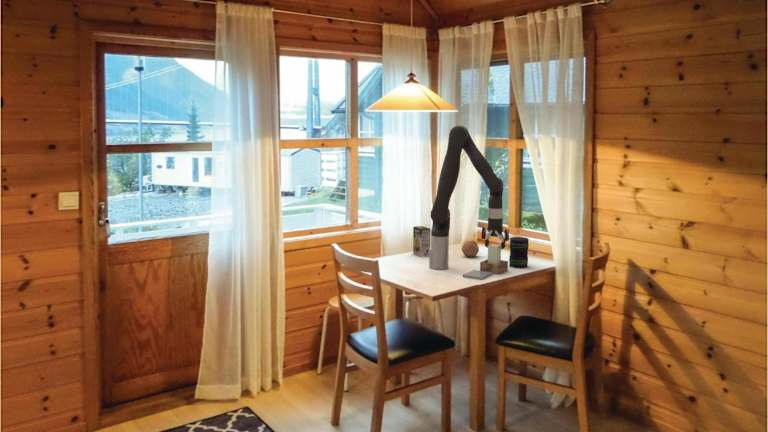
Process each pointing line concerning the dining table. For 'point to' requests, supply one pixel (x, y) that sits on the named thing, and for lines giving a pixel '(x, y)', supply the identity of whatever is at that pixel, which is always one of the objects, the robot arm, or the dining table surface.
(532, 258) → the dining table surface
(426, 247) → the coffee box
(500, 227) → the robot arm
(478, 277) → the blue-grey square panel
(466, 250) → the onion
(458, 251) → the dining table surface
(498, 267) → the crate
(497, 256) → the tea tin
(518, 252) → the dark blue cylinder
